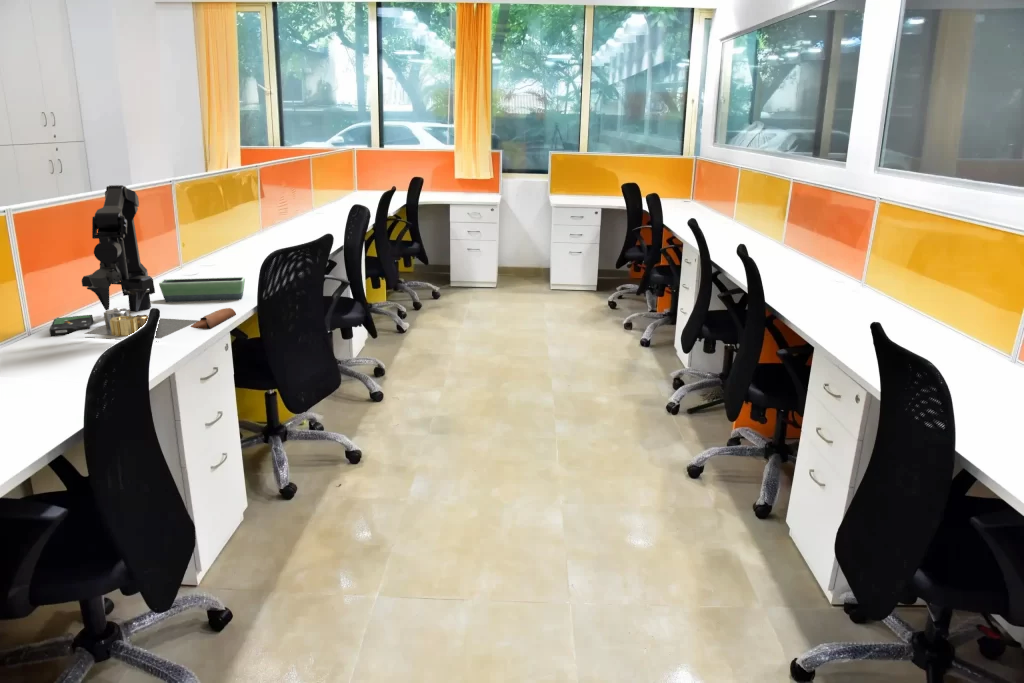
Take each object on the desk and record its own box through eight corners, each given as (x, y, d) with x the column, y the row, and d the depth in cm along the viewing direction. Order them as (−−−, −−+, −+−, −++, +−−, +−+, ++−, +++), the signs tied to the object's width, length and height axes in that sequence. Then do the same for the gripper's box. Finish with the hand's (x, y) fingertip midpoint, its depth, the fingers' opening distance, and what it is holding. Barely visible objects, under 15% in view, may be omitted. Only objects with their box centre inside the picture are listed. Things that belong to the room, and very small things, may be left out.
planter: (246, 296, 264) (245, 276, 261) (244, 300, 257) (242, 280, 255) (165, 299, 257) (162, 279, 255) (160, 303, 251) (158, 283, 249)
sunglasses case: (211, 317, 233) (219, 300, 231) (230, 328, 234) (239, 311, 232) (183, 332, 216) (192, 313, 214) (204, 344, 217) (213, 326, 215)
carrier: (129, 320, 228) (127, 300, 226) (200, 324, 225) (198, 304, 223) (84, 337, 209) (81, 316, 207) (161, 342, 206) (158, 320, 204)
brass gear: (122, 329, 214) (120, 314, 212) (143, 330, 213) (141, 316, 211) (106, 335, 207) (104, 320, 206) (128, 337, 206) (126, 322, 205)
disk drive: (91, 335, 214) (93, 322, 227) (90, 326, 213) (92, 313, 226) (50, 338, 210) (55, 325, 222) (49, 329, 209) (53, 317, 221)
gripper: (63, 260, 197) (72, 315, 201) (125, 263, 194) (133, 319, 199) (91, 253, 208) (99, 306, 212) (151, 256, 205) (158, 309, 209)
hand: (121, 310), depth 208 cm, fingers open, 9 cm apart
